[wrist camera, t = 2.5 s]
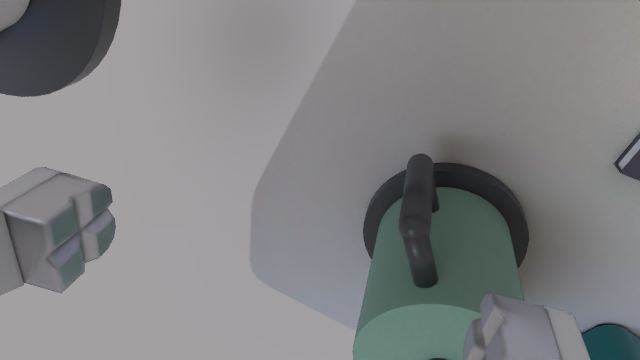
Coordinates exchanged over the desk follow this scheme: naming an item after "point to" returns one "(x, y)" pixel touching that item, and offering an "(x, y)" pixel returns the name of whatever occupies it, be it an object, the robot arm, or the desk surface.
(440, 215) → the kettle
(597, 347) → the pitcher
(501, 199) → the kettle base
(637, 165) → the notebook
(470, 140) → the desk surface
